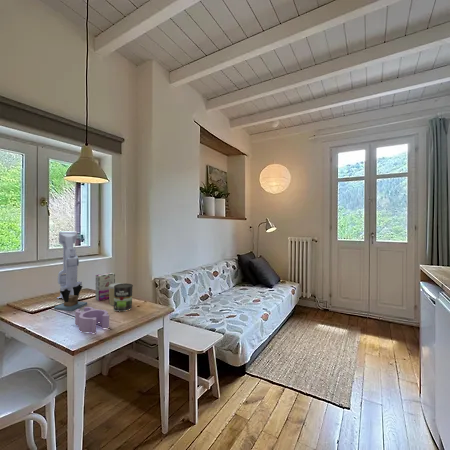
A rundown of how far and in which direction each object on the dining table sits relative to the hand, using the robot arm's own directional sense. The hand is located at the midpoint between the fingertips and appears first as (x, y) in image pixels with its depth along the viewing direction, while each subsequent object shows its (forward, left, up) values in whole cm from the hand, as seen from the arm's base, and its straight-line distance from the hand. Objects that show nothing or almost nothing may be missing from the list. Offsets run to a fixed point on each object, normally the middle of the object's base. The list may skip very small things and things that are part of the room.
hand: (71, 299), depth 152 cm
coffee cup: (-12, +22, -4) cm, 25 cm away
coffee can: (-5, +31, -4) cm, 32 cm away
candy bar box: (-19, +9, -4) cm, 21 cm away
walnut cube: (0, 0, -3) cm, 3 cm away
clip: (+20, +30, -4) cm, 36 cm away
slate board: (0, 0, -4) cm, 4 cm away
